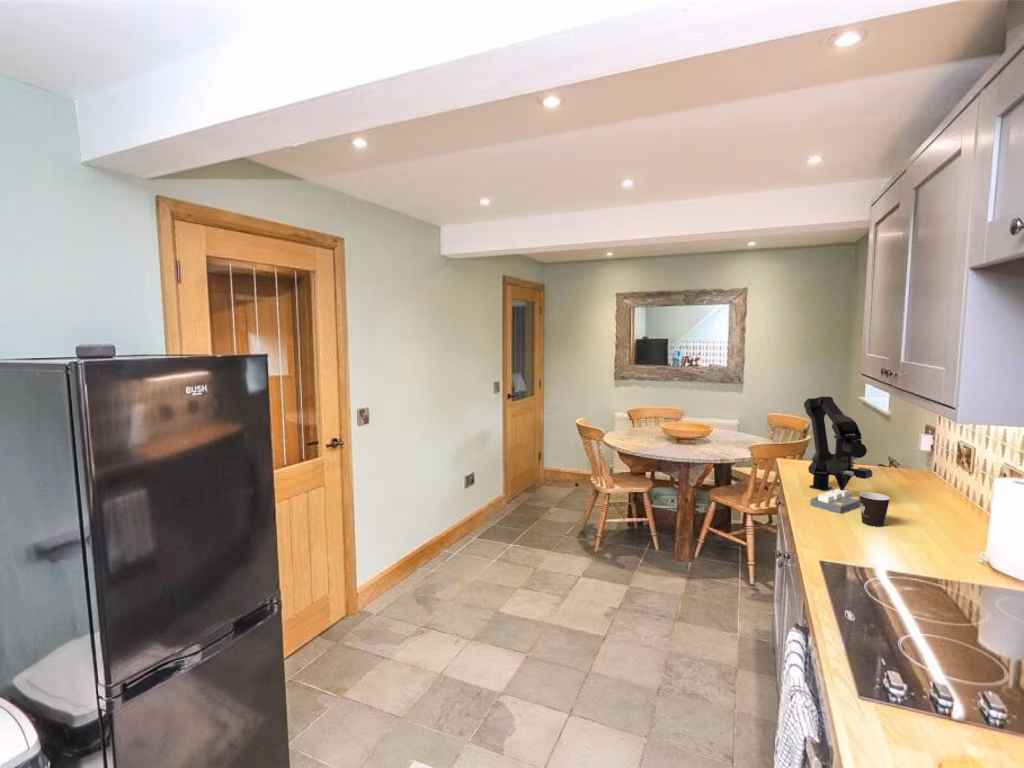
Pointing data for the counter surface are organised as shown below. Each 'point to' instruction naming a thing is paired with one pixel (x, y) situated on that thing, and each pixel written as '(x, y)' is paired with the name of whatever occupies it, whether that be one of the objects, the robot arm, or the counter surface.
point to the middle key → (835, 495)
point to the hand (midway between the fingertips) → (841, 489)
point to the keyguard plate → (838, 504)
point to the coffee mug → (873, 508)
